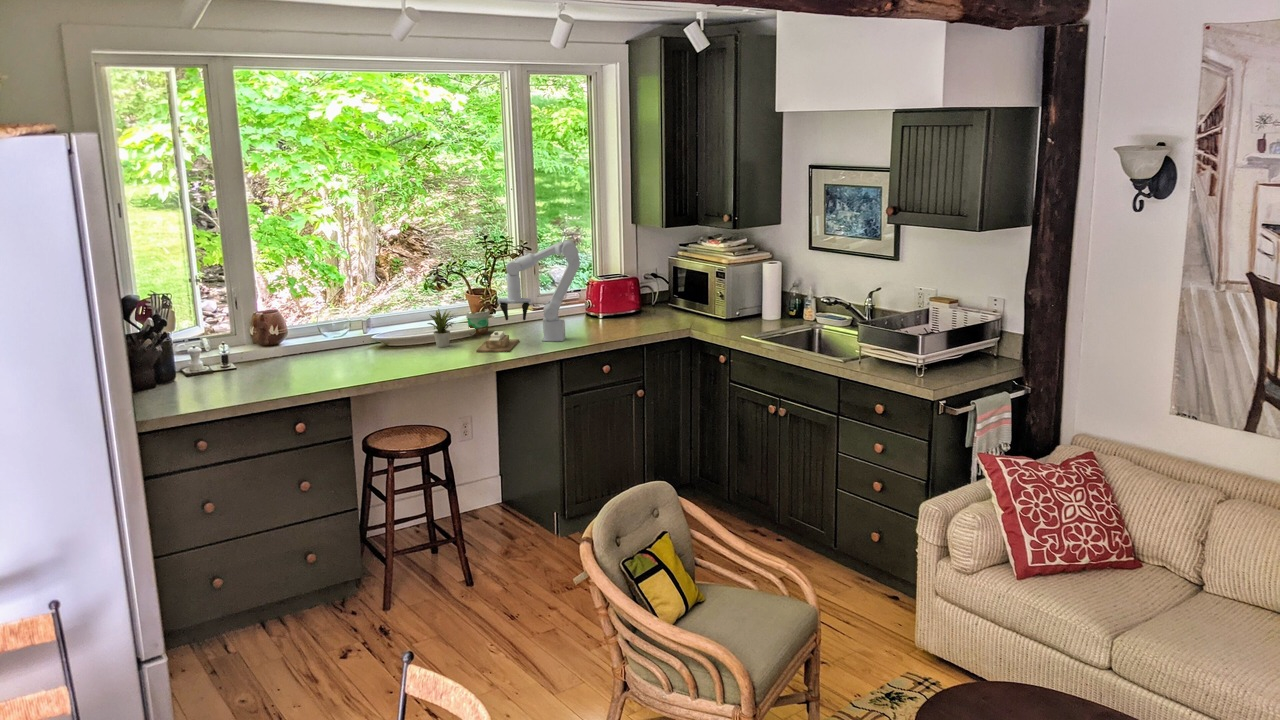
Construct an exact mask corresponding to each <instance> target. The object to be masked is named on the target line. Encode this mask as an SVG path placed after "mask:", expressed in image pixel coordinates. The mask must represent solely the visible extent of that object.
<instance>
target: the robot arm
mask: <svg viewBox="0 0 1280 720" xmlns="http://www.w3.org/2000/svg"><path fill="white" fill-rule="evenodd" d="M553 255H557V256H562V255H563V256H564V258H565V259H566V262H567V266H566V268H565V269H564V272H563V274H562V276H561V278H560V280H559V282H558V284H557V286H556V288H555V290H554V293H553V294H552V295H551V297H550V299H549V300H548V301H547V302H546V303H545V305H544V306H543V311H542V312H543V316H544V317H543V318H542V329H543V338H542V339H541V342H563V341H565V339H566V337H567V336H566V322H565V319H561V318H560V317H559V310H560V308H561V304H562V303H563V300H564V298H565V296H566V294H567V293H568V290H569V288H570V286H571V284H572V283H573V280H574V278H575V276H576V275H577V273H578V270H579V268H580V265H581V263H580V262H581V261H580V257H579V250H578V248H577V246H576V244H575V242H574V241H573V240H571V239H566V240H563V241H559V242H556V243H554V244H552V245H550V246H548V247H546V248H543V249H542V250H540V251H538V252H535V253H531V252H529V253H528V252H525V253H524V255H522V256H520V257H518V258H517V257H515V258H513V259H514V260H509V261H508V262H507V263H506V267H505V270H506V272H507V273H506V285H507V287H506V289H507V290H506V291H507V297H506V298H505V297H504V298H498V299H497V305H499V307H500V309H501V311H502V313H503V315H504V319H505V321H508V320H509V313H508V312H509V311H508V309H509V307H508V305H509V304H512V305H513V304H522V305H521V307H522V321H526V319H527V318H526V317H527V312H528V310H529V307H530V305H531V304H532V303H533V301H532V300H533V299H532V298H529V297H527V298H526V297H525V298H524V297H522V289H521V288H522V287H521V277H520V271H521V272H524V271H526V270H529V269H530V268H532V267H534V266H537V262H538V261H541V260H543V259H545V258H547V257H551V256H553Z"/></svg>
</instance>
